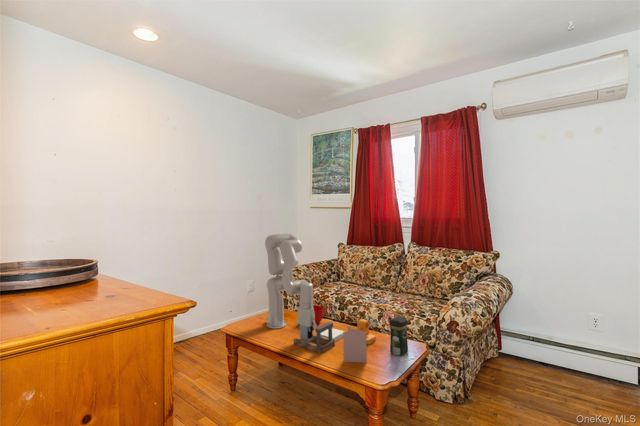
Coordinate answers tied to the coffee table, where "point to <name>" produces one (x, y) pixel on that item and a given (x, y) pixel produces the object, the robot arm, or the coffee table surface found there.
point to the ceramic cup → (318, 313)
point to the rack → (314, 347)
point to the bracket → (366, 330)
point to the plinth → (333, 334)
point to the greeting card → (354, 346)
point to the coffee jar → (398, 336)
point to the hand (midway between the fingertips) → (306, 336)
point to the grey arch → (323, 328)
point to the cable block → (305, 333)
